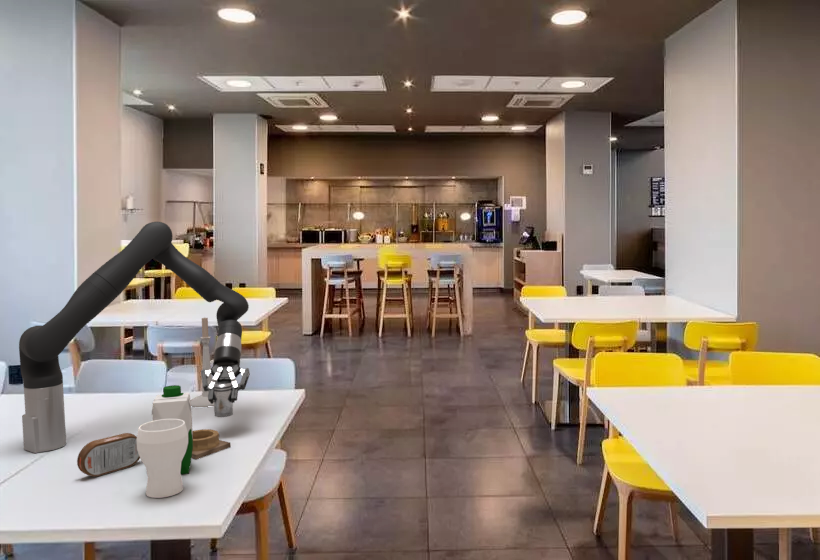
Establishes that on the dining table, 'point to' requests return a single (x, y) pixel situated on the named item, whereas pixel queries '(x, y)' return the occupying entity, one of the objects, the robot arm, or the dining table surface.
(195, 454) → the ring board
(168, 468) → the cup
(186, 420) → the milk carton
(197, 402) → the candlestick
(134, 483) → the dining table surface
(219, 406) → the salt shaker
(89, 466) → the tin
